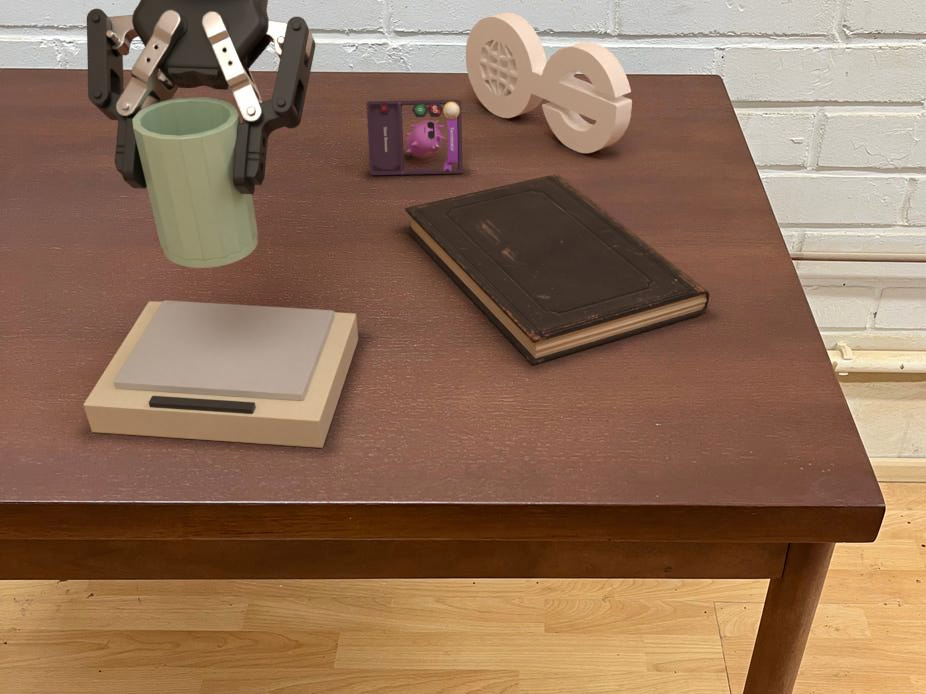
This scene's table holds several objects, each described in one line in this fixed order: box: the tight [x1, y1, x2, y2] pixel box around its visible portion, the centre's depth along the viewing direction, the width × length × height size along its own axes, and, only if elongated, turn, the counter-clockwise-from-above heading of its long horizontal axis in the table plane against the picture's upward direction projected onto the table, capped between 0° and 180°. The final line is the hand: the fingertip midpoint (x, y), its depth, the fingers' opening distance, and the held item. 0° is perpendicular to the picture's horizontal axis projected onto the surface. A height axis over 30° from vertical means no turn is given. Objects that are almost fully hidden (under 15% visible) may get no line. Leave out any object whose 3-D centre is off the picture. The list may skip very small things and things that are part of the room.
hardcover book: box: [404, 173, 710, 366], centre depth 84 cm, size 16×23×2 cm
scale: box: [83, 300, 359, 449], centre depth 72 cm, size 16×13×3 cm
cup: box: [132, 96, 259, 269], centre depth 63 cm, size 6×6×8 cm
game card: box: [366, 99, 464, 176], centre depth 99 cm, size 7×5×9 cm
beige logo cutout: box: [465, 12, 633, 154], centre depth 103 cm, size 22×2×10 cm, turn 42°
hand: (189, 186), depth 62 cm, fingers closed on cup, 6 cm apart
